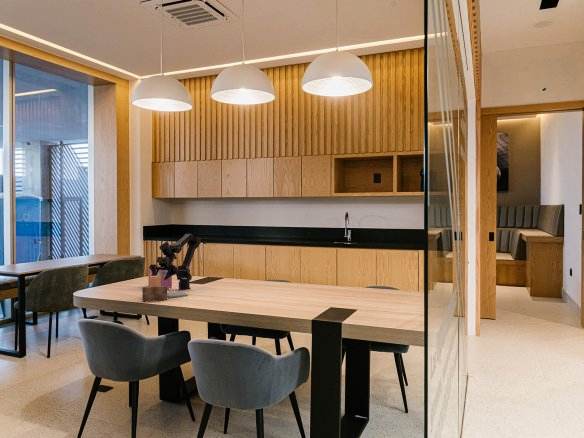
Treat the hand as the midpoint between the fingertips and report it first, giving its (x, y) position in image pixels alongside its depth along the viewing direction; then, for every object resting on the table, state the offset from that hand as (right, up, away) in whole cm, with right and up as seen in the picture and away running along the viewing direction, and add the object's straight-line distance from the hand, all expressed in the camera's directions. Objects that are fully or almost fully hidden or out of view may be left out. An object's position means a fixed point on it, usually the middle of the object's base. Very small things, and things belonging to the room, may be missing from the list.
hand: (158, 279), depth 280 cm
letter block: (-1, -11, -3) cm, 11 cm away
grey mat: (+10, -10, +3) cm, 14 cm away
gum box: (-9, -10, +36) cm, 39 cm away
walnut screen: (+2, -11, -12) cm, 16 cm away
